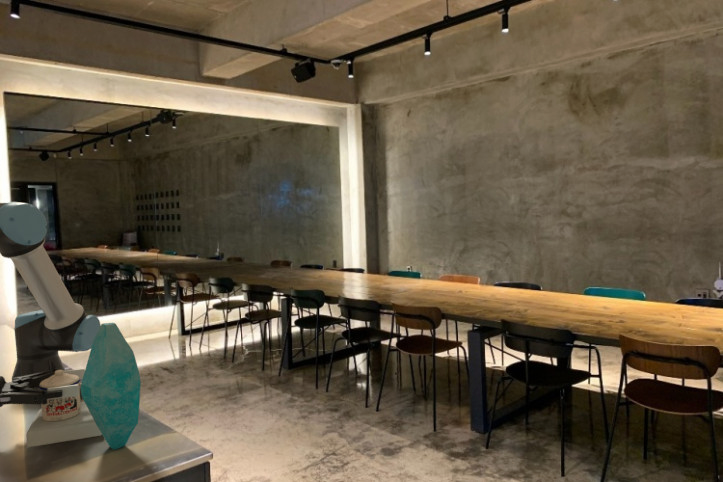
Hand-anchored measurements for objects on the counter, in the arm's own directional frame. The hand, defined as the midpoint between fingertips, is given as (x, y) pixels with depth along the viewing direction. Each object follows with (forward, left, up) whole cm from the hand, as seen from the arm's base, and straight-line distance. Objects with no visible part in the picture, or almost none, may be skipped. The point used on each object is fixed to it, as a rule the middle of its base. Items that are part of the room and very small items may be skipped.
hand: (81, 381), depth 134 cm
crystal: (+17, +9, -12) cm, 23 cm away
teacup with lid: (0, -3, -8) cm, 9 cm away
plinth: (0, -3, -12) cm, 12 cm away
